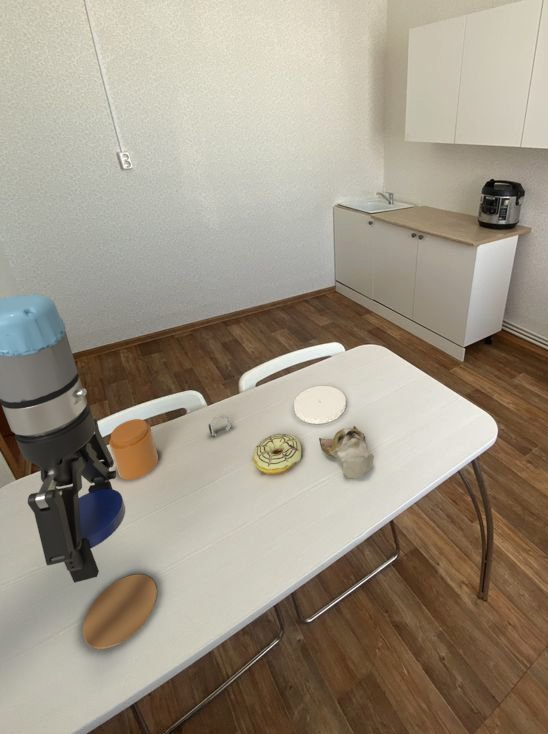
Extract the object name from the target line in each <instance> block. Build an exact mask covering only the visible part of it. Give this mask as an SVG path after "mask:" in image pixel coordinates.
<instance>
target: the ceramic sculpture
mask: <svg viewBox="0 0 548 734" xmlns="http://www.w3.org/2000/svg"><path fill="white" fill-rule="evenodd" d="M318 440H319V446H320V448H321V450H322V451H323V453H324V454H326V455H328V456H331V457H333V458H336V460H337V461H338V462H339V463H340V465H341V471H342V473H343V474H344V476H345V477H346V478H348V479H360V478H362V477H364V476H365V474H367V473H368V472H369V471H370V470H371V469H372V466H373V464H374V457H375V456H374V454H372V452H371V451H369V449H368V446H367V443H366V435H365V433H363V432H361V431H360V430H358V428H357V427H356V426H355V425H353V427H345V428H342V429H339V431H337V432H336V433H335V435H334V436H333V439H332V438H326V439H325V438H322V437H319V438H318Z"/></svg>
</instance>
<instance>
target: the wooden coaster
mask: <svg viewBox="0 0 548 734" xmlns="http://www.w3.org/2000/svg"><path fill="white" fill-rule="evenodd" d="M157 596H158V591H157V586H156V583H155V581H154V580H153V579H152V578H151V577H150V576H148V575H147V574H146V575H145V574H141V573H137V574H130V575H127V576H124V577H122V578H119V579H118V580H116V581H115V582H113V583H112V584H110V585H109V586H108V587H107V588H105V589H104V590H103V591H102V592H101V593H100V594H99V595H98V596H97V597H96V598H95V600H94V601H93V603H92V604H91V606H90V607H89V609H88V611H87V613H86V615H85V617H84V621H83V625H82V635H83V638H84V640H85V642H86V644H87V645H89V646H90V647H91V648H93V649H99V650H103V649H109V648H113V647H115V646H118V645H120V644H122V643H123V642H126V640H129V639H130V638H132V636H133V635H135V634H136V633H137V632H138V631H139V630H140V629H141V628H142V627H143V625H144V624H145V623H146V621H147V620H148V619H149V617H150V615H151V614H152V611H153V610H154V607H155V605H156V601H157Z"/></svg>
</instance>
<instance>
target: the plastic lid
mask: <svg viewBox="0 0 548 734" xmlns="http://www.w3.org/2000/svg"><path fill="white" fill-rule="evenodd" d="M293 406H294V407H293V408H294V413H295V415H296V417H297V418H298V419H299V420H301V421H302V422H306V424H307V423H308V424H313V425H314V424H315V425H319V424H320V425H322V424H327V423H331V422H333V421H335V420H336V419H338V418H339V417H341V416H342V415H343V414H344V412H345V410H346V406H347V398H346V396H345V394H344V393H343V392H342V391H341V390H340V389H338V388H336V387H334V386H329V385H318V386H312V387H308V388H306V389H304V390H303V391H301V392H299V393H298V395H297V396H296V398H295V399H294V402H293Z"/></svg>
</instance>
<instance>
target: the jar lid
mask: <svg viewBox="0 0 548 734" xmlns="http://www.w3.org/2000/svg"><path fill="white" fill-rule="evenodd" d="M79 510H80V524H81V538H87V541H88V543H89V546H90V549H91V550H92V549H93V548H95V547H96V546H99V545H100V544H102V543H103V542H104V541H106V540H107V539H108V538H110V537H111V536H112V535H113V534H114V533H115V532H117V531H116V530H117V529H118V528H119V527H120V525H121V524H122V522H123V521H124V518H125V516H126V505H125V501H124V499H123V496H122V494H121V493H120V492H119V491H118V490H116V489H114V488H112V489H101V490H96V491H93V492H90V493H89V492H87V493H85V494H83V495H81V496H79Z"/></svg>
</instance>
